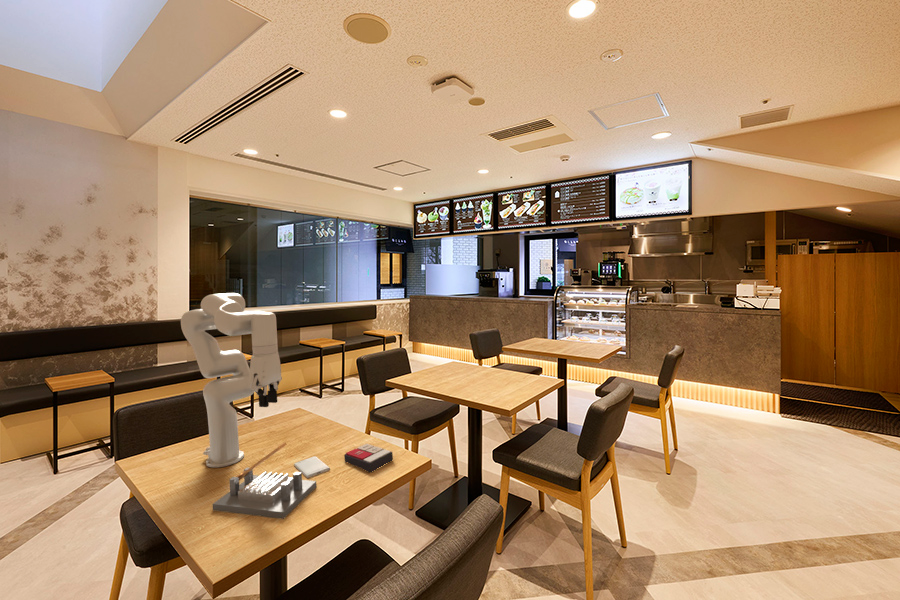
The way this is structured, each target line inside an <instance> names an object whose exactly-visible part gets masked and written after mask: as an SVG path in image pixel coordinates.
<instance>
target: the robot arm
mask: <svg viewBox="0 0 900 600" xmlns="http://www.w3.org/2000/svg"><path fill="white" fill-rule="evenodd" d="M245 309H246V300H245V299H244V296H242V295H241V294H240V293H236V292H226V293H213V294H208V295H206V296H204V297H203V298H202V300H201V302H200V308H195V309H191V310H188V311H185V312H184V313H183V314H182V316H181V318H180V327H181V331H182V333H183V336H184V337H185V339H186V340H187V342H188V343H189V345H190V346H191V348H192V350H193V353H194V356H195V360H196V362H197V365H198V369H199V371H200V373H201V375H202V376H203V378H206V379H214V378H216V379H214V380H210V381H209V382H207V383H206V384H205V385H204V386H203V390H202V394H203V399H204V402H205V407H206V412H207V414H206V415H207V424H208V439H209V446H207V447H206V448H205V450H204V451H203V455H204V456H208V457H207V459H206V460H205V464H206V466H207V467H208V468H222V467H223V468H225V467H227V466H231V465H233V464H236V463H238V462H240V461H241V460H242V459H243V458H244V457H245V452H244V451H242V450H240V443H239V442H240V441H239V426H238V425H239V424H238V412H237V410H236V409H235V408H234V407H233V406H232V405H231V404H230V403H233V402H234V401H238V400H241V399H246V398H248V397H250V396H252V395H253V394H254V392H255V393H256V395H257V396H258V406H259V407H260V408H268V407H269V406H270V403H272V404H276V403H278V390H279V384H280V383H281V381H282V378H283V377H282V367H281V366H282V365H281V359H280V355H279V348H278V331H277V317H276V313H274V312H270V311H269V312H267V311H264V310H252V311H245ZM209 330H211V331H212V330H217V331H219V332H220V333H222V334H224V335H227V336H230V337H231V336H232V337H235V336H236V337H237V336H242V335H243V336H245V335H250V334H251V346H252V356H251V357H250V362H249V363H248V360H247V358H246V357H245V354H244V353H243V352H242V351H240V350H238V349H229V350H222V349H221V348H220V345H219V342H218V340H217V339H216V338H215V337H214V336H212V335H211V334H209V333H208V332H206V331H209ZM228 375H231V376H228ZM219 377H221V378H219ZM267 389H268V390H267Z"/></svg>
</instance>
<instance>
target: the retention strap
mask: <svg viewBox="0 0 900 600" xmlns="http://www.w3.org/2000/svg"><path fill="white" fill-rule="evenodd" d="M287 445H288V443H287V442H283V444H280V446H278V447H276V448H274V450H272V451H271V452H270V453H268V454H266V456H264V457H263V458H261V459H260V460H259V461H257V462H256V463H255V464H253V465H252V466H251V467H248V468H249V469H248V470H246V471H244V470H242V472H241V473H238V475H236V476H235V477H239V481H241V480H242V479H244V477H245V476H246V475H247V474H248V472H250V471H251V470H254V469H255V468H256V467H258V466H259V465H261V464H262V463H263V462H265V461H266V460H268V459H270V457H272V456H273V455H274V454H276V453H277V452H278V451H280V450H281V449H283V448H284V447H285V446H287Z"/></svg>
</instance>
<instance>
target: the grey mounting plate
mask: <svg viewBox="0 0 900 600" xmlns="http://www.w3.org/2000/svg"><path fill="white" fill-rule="evenodd" d="M259 476H260V475H256V474H253V480H255V479H256V478H257V477H259ZM245 486H246V485H245V484H244V481H243V482H241V483H239V490H241V489H242V488H243V487H245ZM317 487H318V485H317V481H316V480H311V479H309V480H308V479H302V489H301V490H300V491H294V487H293V486H292V487H291V488H290V497H291V499H290V500H289V501H288V502H282V501H281V497H279V498H278V499H277V500H276V501H275V502H274V503H268V502H259V501H250V500H241V499H238V495H237V496H230V491H229V492H227V493H225V494H224V495H223V496H221V497H220V498H219V499H217V500H216V501H214V502H213V503H212V511H214V512H224V513H230V514H240V515H246V516H247V515H248V516H255V517H256V516H257V517H263V518H273V519H281V520H284V519H285V518H286V517H288V515H289V514H290V513H291V512H293V510H294V509H295V508H297V507H298V506H299V504H301V503H302V502H303V501H304V500H305V499H306V498H307V497H308V496H309V495H310V494H311V493H312V492H313V491H314V490H315V489H316V488H317Z"/></svg>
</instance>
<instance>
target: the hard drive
mask: <svg viewBox="0 0 900 600" xmlns="http://www.w3.org/2000/svg"><path fill="white" fill-rule="evenodd" d="M293 466H294V468H296V469H297V470H298V472H302V475H303V476H304V477H306V478H307V479H309V478H312V477H314V476H318V475H320V474H323V473H326V472H328V471H331V469H330V466H328V465H327V464H326V463H325V462H324V461H322V460H321V459H319V457H317V456H316V455H315V456H314V455H313V456H311V457H308V458H305V459H303V460H300V461H297V462H294V463H293Z"/></svg>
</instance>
